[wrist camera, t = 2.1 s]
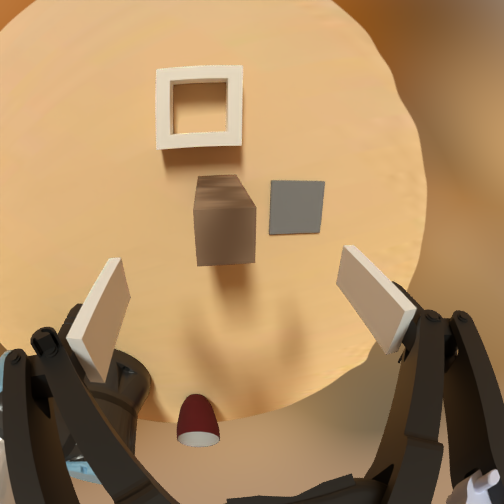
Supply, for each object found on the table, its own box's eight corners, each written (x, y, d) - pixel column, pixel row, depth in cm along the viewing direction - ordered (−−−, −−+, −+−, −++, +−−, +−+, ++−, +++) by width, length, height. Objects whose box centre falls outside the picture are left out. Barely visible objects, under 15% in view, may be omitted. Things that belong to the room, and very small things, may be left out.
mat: (269, 233, 35) (269, 234, 35) (271, 180, 32) (271, 181, 32) (318, 231, 36) (319, 232, 36) (324, 181, 33) (324, 181, 33)
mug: (231, 403, 51) (237, 442, 43) (204, 415, 53) (207, 452, 44) (196, 383, 47) (198, 427, 38) (168, 397, 48) (167, 438, 39)
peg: (199, 212, 33) (197, 266, 21) (198, 176, 31) (193, 210, 19) (236, 210, 33) (255, 262, 21) (236, 174, 31) (256, 207, 19)
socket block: (161, 147, 28) (156, 149, 26) (160, 74, 24) (156, 69, 22) (238, 143, 30) (241, 145, 27) (239, 70, 26) (243, 65, 23)
